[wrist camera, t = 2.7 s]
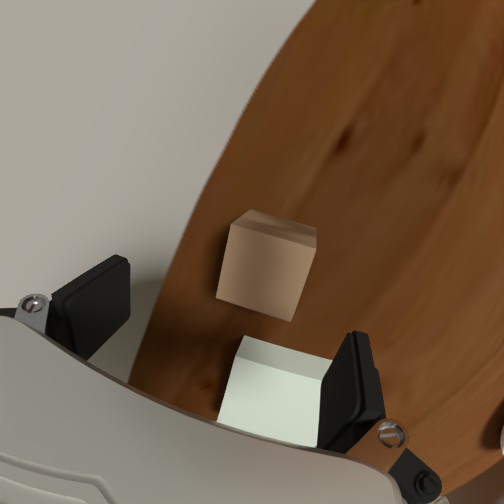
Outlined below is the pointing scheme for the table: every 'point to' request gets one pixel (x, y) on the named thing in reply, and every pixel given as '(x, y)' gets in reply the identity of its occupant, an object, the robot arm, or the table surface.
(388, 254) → the table surface
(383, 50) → the table surface
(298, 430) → the plate
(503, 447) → the bowl
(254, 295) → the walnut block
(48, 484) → the robot arm
